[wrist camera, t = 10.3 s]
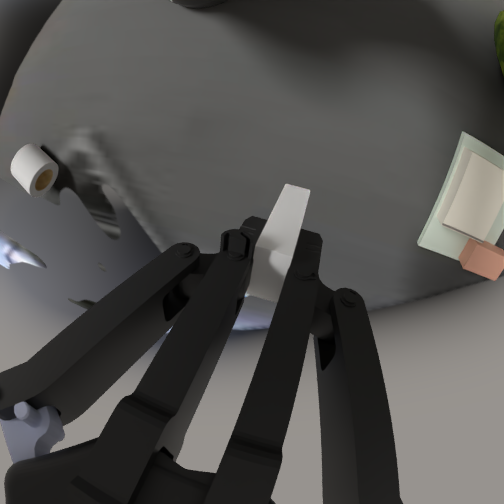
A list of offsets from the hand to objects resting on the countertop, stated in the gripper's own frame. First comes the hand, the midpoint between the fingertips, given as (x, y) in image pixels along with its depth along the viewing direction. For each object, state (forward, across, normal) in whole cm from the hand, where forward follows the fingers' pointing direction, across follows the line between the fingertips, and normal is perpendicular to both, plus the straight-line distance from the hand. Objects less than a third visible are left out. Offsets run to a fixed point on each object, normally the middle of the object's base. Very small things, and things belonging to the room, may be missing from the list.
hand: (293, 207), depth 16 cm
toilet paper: (+25, -63, -14) cm, 69 cm away
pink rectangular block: (+23, +34, -9) cm, 42 cm away
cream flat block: (+23, +26, 0) cm, 34 cm away
